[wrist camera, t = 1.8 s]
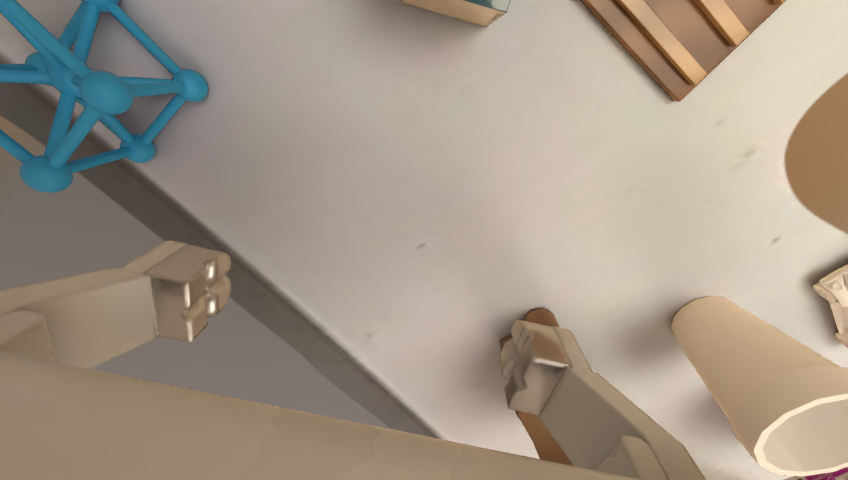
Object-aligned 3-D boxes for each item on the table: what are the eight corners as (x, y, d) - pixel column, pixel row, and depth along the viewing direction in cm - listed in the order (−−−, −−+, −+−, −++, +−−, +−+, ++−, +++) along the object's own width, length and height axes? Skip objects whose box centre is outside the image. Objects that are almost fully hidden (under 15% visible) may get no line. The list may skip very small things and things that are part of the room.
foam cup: (755, 272, 34) (920, 380, 23) (750, 341, 38) (889, 463, 26) (652, 298, 36) (757, 410, 24) (657, 361, 40) (750, 484, 28)
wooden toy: (607, 387, 42) (803, 759, 19) (556, 409, 44) (681, 769, 21) (545, 301, 36) (717, 678, 14) (490, 330, 38) (565, 701, 16)
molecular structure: (41, 66, 28) (-147, 67, 19) (104, -33, 25) (-84, -88, 16) (153, 164, 31) (38, 204, 22) (220, 87, 28) (119, 98, 19)
